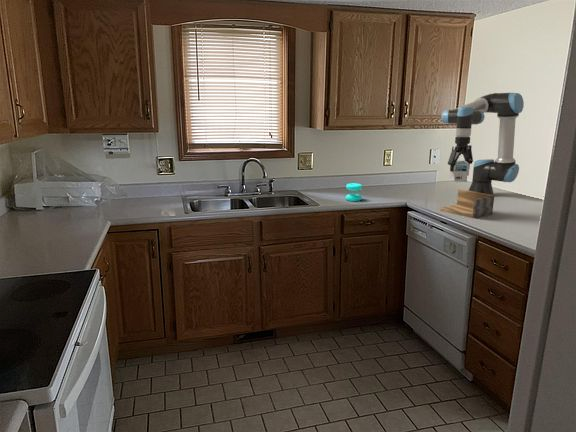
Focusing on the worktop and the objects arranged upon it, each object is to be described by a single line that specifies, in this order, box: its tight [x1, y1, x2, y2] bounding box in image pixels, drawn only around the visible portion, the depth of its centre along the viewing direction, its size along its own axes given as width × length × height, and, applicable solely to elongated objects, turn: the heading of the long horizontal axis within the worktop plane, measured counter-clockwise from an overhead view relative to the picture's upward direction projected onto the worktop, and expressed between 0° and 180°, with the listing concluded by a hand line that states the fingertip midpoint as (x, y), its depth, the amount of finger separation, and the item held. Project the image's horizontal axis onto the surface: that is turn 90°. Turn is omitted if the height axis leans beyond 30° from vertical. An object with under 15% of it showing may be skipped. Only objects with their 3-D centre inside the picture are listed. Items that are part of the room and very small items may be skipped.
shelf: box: [439, 188, 495, 219], centre depth 244 cm, size 16×22×10 cm
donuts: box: [345, 182, 363, 202], centre depth 276 cm, size 10×10×10 cm
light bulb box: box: [451, 159, 468, 183], centre depth 242 cm, size 11×7×11 cm, turn 169°
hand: (459, 176), depth 243 cm, fingers closed on light bulb box, 12 cm apart
